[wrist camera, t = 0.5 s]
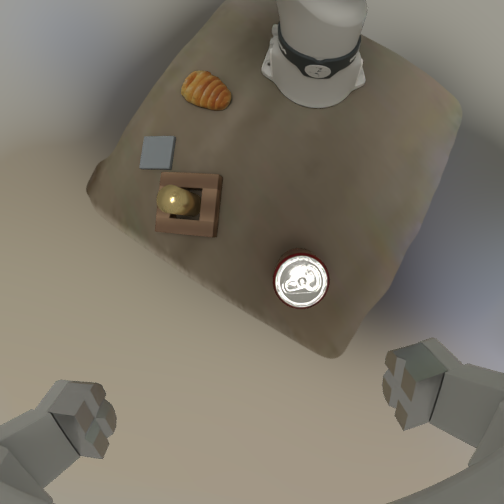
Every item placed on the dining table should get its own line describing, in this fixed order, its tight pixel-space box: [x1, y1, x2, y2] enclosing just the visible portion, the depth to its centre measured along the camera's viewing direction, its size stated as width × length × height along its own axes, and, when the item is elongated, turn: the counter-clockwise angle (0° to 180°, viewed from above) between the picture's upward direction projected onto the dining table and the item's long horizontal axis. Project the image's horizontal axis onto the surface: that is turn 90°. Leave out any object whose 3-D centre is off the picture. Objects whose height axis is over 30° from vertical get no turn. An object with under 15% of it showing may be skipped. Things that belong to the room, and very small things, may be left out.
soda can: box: [273, 248, 330, 309], centre depth 43 cm, size 7×7×12 cm
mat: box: [140, 136, 176, 170], centre depth 50 cm, size 6×6×1 cm
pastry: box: [181, 71, 231, 111], centre depth 47 cm, size 9×7×4 cm
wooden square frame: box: [155, 172, 223, 237], centre depth 49 cm, size 10×10×3 cm
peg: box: [157, 185, 201, 216], centre depth 46 cm, size 4×4×10 cm
